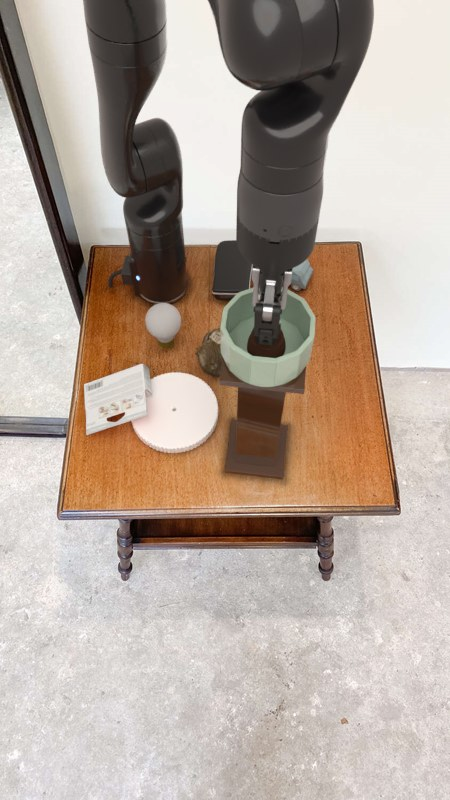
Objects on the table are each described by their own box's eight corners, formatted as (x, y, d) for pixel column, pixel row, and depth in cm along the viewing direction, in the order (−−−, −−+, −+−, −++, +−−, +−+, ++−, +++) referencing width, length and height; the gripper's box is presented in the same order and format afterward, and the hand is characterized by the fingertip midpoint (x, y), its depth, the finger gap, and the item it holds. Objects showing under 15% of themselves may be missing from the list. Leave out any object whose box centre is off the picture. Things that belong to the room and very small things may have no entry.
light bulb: (164, 365, 110) (158, 330, 102) (142, 344, 113) (135, 308, 104) (190, 346, 112) (187, 311, 104) (169, 325, 115) (164, 289, 106)
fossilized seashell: (234, 315, 113) (185, 345, 111) (240, 311, 106) (188, 343, 105) (256, 352, 113) (208, 382, 112) (264, 351, 107) (212, 383, 106)
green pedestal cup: (219, 476, 100) (215, 356, 71) (227, 417, 105) (227, 281, 76) (287, 484, 100) (312, 366, 70) (292, 424, 105) (317, 290, 76)
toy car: (262, 260, 122) (263, 242, 118) (312, 277, 120) (315, 259, 116) (249, 285, 119) (250, 267, 115) (300, 302, 117) (303, 284, 113)
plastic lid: (224, 448, 102) (224, 441, 100) (136, 462, 101) (134, 455, 99) (211, 374, 109) (211, 366, 107) (128, 386, 108) (126, 378, 106)
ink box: (150, 368, 105) (155, 420, 101) (90, 389, 108) (93, 441, 104) (143, 361, 103) (148, 414, 99) (82, 382, 106) (85, 435, 102)
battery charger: (251, 303, 117) (256, 251, 122) (249, 291, 114) (254, 238, 118) (213, 303, 118) (219, 252, 123) (210, 291, 115) (216, 239, 119)
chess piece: (244, 361, 77) (246, 309, 68) (250, 327, 79) (253, 272, 70) (282, 366, 76) (290, 315, 68) (287, 332, 79) (295, 277, 70)
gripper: (245, 149, 62) (242, 268, 77) (227, 263, 55) (227, 370, 70) (324, 155, 62) (305, 274, 76) (315, 271, 55) (297, 377, 69)
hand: (268, 319), depth 73 cm, fingers open, 5 cm apart
